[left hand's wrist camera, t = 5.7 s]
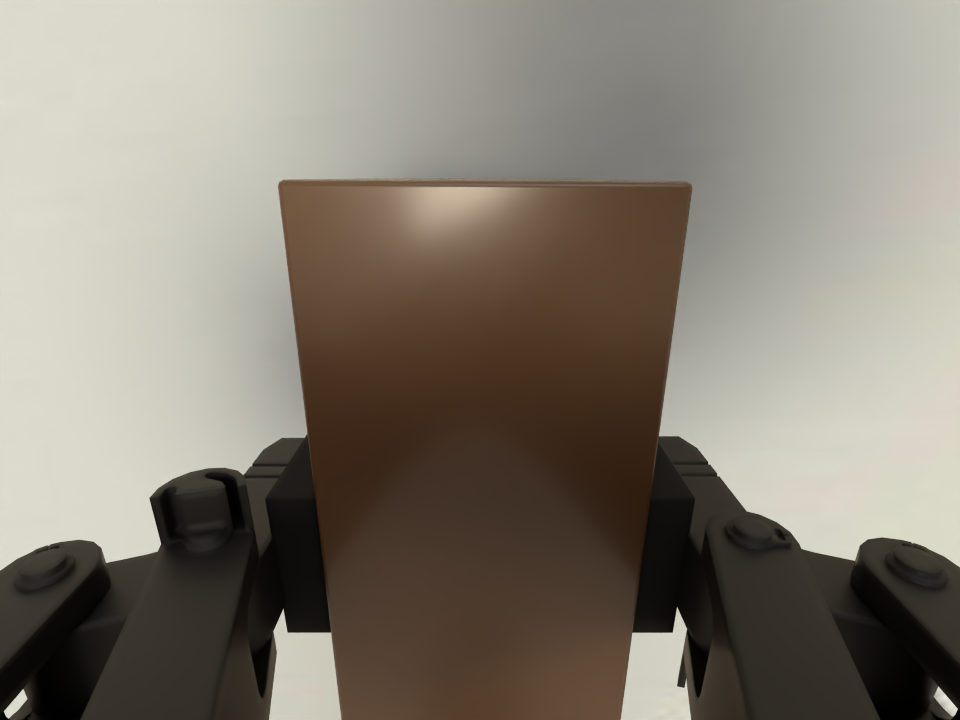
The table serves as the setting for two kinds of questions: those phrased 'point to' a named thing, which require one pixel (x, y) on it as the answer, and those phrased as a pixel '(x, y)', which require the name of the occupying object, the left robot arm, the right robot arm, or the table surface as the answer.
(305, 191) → the bar
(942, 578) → the left robot arm
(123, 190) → the table surface
